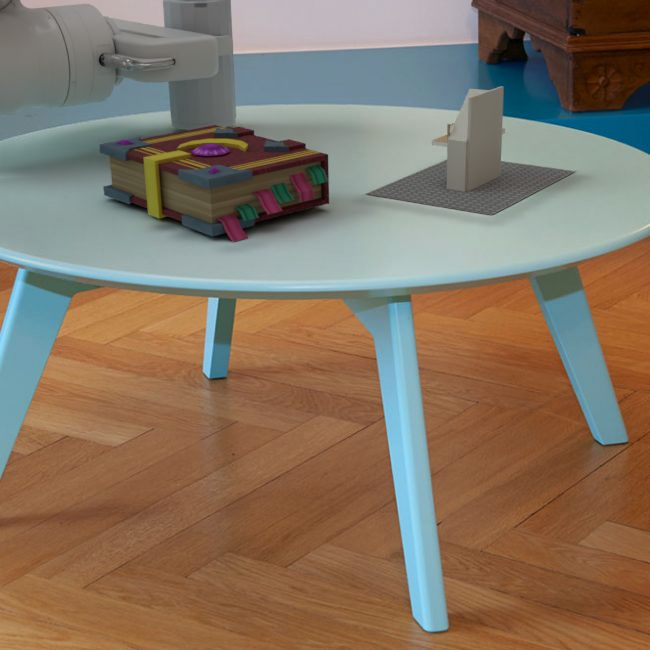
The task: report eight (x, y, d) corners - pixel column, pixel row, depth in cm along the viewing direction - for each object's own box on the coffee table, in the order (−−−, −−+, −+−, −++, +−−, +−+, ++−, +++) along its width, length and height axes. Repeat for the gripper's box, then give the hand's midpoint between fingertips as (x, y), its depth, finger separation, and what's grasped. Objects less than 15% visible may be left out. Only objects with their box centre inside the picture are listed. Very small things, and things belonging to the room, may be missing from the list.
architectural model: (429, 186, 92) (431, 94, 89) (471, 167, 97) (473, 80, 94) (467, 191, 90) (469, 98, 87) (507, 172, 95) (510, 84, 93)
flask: (174, 132, 110) (162, -42, 104) (169, 119, 115) (157, -46, 110) (240, 127, 111) (232, -44, 105) (231, 115, 117) (223, -48, 111)
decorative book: (219, 174, 97) (216, 116, 95) (343, 212, 86) (342, 147, 84) (103, 199, 90) (97, 137, 89) (220, 245, 79) (216, 175, 77)
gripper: (130, 29, 94) (266, 15, 102) (27, 10, 109) (152, -1, 117) (136, 105, 96) (269, 86, 104) (34, 77, 112) (157, 61, 119)
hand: (206, 40), depth 111 cm, fingers closed on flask, 6 cm apart
